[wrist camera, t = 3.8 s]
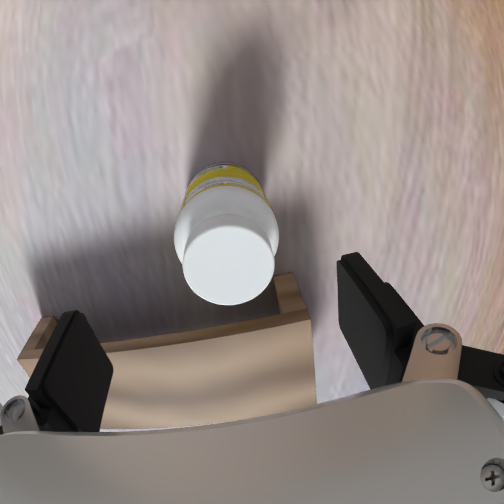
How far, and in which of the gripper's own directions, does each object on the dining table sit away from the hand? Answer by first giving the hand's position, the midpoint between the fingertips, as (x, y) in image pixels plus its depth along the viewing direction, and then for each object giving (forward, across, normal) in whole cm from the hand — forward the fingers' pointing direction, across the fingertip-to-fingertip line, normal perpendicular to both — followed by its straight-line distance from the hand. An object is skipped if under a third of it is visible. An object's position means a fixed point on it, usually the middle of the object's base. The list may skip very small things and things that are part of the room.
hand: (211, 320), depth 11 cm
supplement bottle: (+13, -1, 0) cm, 13 cm away
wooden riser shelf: (+13, +7, +12) cm, 19 cm away
